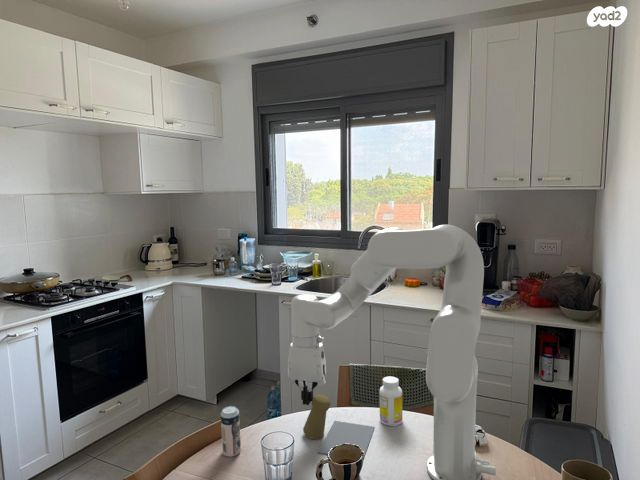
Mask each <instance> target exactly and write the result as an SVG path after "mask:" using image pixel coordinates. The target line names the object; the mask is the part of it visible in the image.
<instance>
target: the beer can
mask: <svg viewBox="0 0 640 480" xmlns="http://www.w3.org/2000/svg"><path fill="white" fill-rule="evenodd" d="M240 421H241V420H240V410H239V409H238V407H237V406H234V405H233V406H232V405H229V406H225V407H224V408H222V411H221V412H220V425H221V426H220V427H221V428H220V430H221V445H222V446H221V447H222V454H223V455H224V456H225V457H229V458H232V457H235V456H237V455H239V454H240V453H241V450H242V447H241V425H240V424H241V423H240Z"/></svg>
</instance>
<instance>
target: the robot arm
mask: <svg viewBox="0 0 640 480" xmlns="http://www.w3.org/2000/svg"><path fill="white" fill-rule="evenodd" d="M367 243H368V244H367V249H366V250H365V251H364V252H363V253H362V254H361V255H360V256H359V257H358V259H356V261H355V262H353V263H352V265H351V267H350V272H351V273H350V275H349V277H348V278H347V280H345V282H344V283H343V284H342V285H341V286H340V287H339V288H337V290H336V291H335V292H334V293H332V294H331V295H329V296H327V297H325V298H322V299H319V298H318V297H317V296H316V295H313V294H298V295H295V296H293V297H292V300H291V303H290V304H291V305H290V306H291V307H290V308H291V332H292V333H291V335H292V338H291V340H292V341H291V343H290V346H289V350H288V359H287V375H288V379H287V380H288V381H289V382H291V383H295V384H296V385H297V387H298V389H299V391H300V393H301V394H300V397H301V398H300V399H301V400H302V405H303V406H304V405H305V406H309V405H310V404H311V403H312V399H313V397H314V389H316V387H320V386H325V384H326V382H327V381H326V378H325V376H326V375H327V365H326V363H327V362H326V356H325V354H326V353H325V350H324V344H323V343H324V342H325V337H324V336H323V337H322V336H321V332H320V329H323V330H331V329H333V328H335V327H336V326H337V325H339V324H341V323H342V322H343V321H344V320H346V319H348V318H349V317H350V316H351V315H352V314H353V313H354V312H355V311H356V310H357V309H358V308H359V307H360V306H361V305H362V304H363V303H364V302H365V301H366V300H367V299H368V298H369V297H370V296H371V295H372V294H373V293H374V292H375V291H376V290H377V288H379V287H380V286H381V285H382V284H383V283H384V282H385V281H386V279H387V278H388V277H390V275H391V274H392V273H394V272H395V270H398V269H438V268H443V267H445V274H444V280H443V281H444V282H443V292H442V293H443V295H442V302H441V308H440V310H439V311H438V313H437V315H436V316H435V318H434V319H433V321H432V322H431V323H432V324H431V326H430V331H429V336H428V346H427V358H426V369H425V370H426V371H425V381H426V385H427V388H428V391H429V392H430V393H431V395H432V396H433V446H432V447H433V451H432V452H433V454H432V455H431V456H430V457H428V459H427V462H426V471H427V472H428V475H429V476H430V478H431V479H433V480H482V474H487V475H491V476H496V475H497V474H496V465H495V466H494V465H490V460H489V459H481V458H479V457H477V452H476V450H475V449H476V415H477V414H476V413H477V411H476V410H477V390H478V389H477V388H478V377H479V373H478V372H479V364H478V360H477V357H476V355H475V353H476V345H477V340H478V337H479V334H480V330H481V324H482V323H481V318H482V317H481V315H482V306H483V305H482V303H483V302H482V301H483V289H484V278H485V265H484V264H485V263H484V257H483V254H482V251H481V248H480V247H479V245H478V243H477V241H476V240H475V239H474V238H473V236H472V235H471V234H469V233H468V232H467V231H465V230H463V229H462V228H460V227H458V226H457V225H456V226H455V225H454V224H453V225H452V224H440V225H437V226H434V227H433V228H429V229H428V228H427V229H409V230H408V229H407V230H405V229H403V228H401V227H397V226H394V227H393V226H392V227H388V228H385V229H382V230H380V231H377V232H376V233H374V234H373V235H372V236H371V238H369V240H368V242H367Z"/></svg>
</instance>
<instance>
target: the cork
mask: <svg viewBox="0 0 640 480" xmlns="http://www.w3.org/2000/svg"><path fill="white" fill-rule="evenodd" d="M330 407H331V399H330V398H329V397H328V396H326V395H325V394H322V393H320V394H316V395H313V399H312V401H311V409H310V412H309V414H308V415H307V418H306V421H305V423H304V425H303V429H302V430H303V431H302V432H303V433H304V435H305V436H307V437H308V438H310V439H313V440H320V439H322V438H323V437H324V435H325V429H326V428H325V426H326V418H327V412H328V411H329V409H330Z"/></svg>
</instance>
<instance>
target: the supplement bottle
mask: <svg viewBox="0 0 640 480" xmlns="http://www.w3.org/2000/svg"><path fill="white" fill-rule="evenodd" d="M399 381H400V380H399V378H398V377H395V376H390V375H389V376H385V377H383V378H382V386H380V388H379V393H378V394H379V420H380V421H381V423H382V424H384V425H386V426H390V427H391V426H392V427H395V426H399V425H401V424H402V422H403V390H402V388H401V387H400V386H399V383H400V382H399Z"/></svg>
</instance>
